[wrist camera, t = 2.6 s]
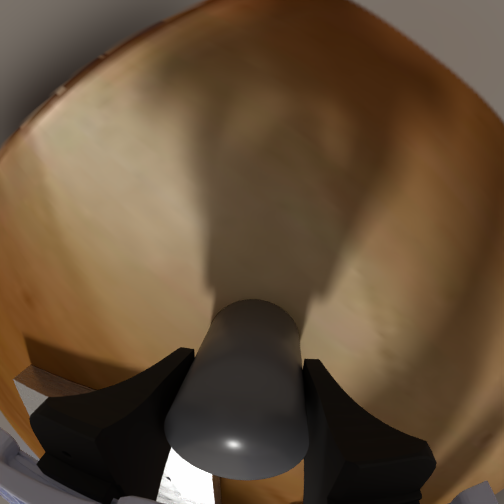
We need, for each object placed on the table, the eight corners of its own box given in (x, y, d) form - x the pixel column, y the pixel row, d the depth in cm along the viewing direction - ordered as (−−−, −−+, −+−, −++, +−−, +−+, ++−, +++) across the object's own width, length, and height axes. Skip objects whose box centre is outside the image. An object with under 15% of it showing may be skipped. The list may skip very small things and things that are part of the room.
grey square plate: (216, 417, 16) (208, 445, 13) (222, 514, 19) (218, 533, 17) (30, 364, 17) (13, 379, 15) (83, 474, 21) (74, 487, 18)
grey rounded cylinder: (304, 302, 14) (321, 398, 7) (293, 378, 15) (297, 483, 8) (208, 295, 14) (154, 380, 7) (210, 371, 15) (173, 468, 8)
